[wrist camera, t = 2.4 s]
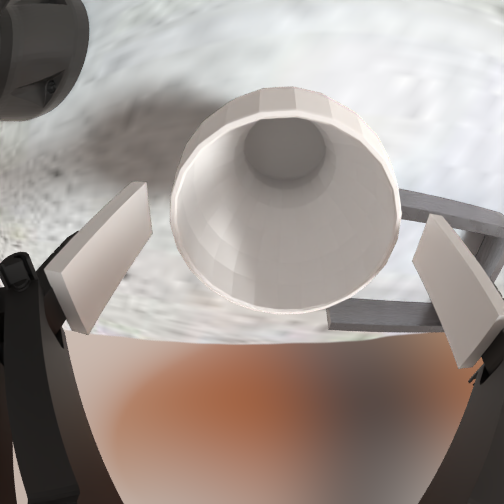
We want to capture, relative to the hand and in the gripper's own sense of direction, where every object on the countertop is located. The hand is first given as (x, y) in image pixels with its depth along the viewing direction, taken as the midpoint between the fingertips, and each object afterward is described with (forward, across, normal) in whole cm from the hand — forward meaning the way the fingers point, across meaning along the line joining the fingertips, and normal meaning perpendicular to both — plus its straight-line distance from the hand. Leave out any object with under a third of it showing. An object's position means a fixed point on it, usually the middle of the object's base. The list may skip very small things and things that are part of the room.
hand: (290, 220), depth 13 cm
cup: (+14, 0, 0) cm, 14 cm away
